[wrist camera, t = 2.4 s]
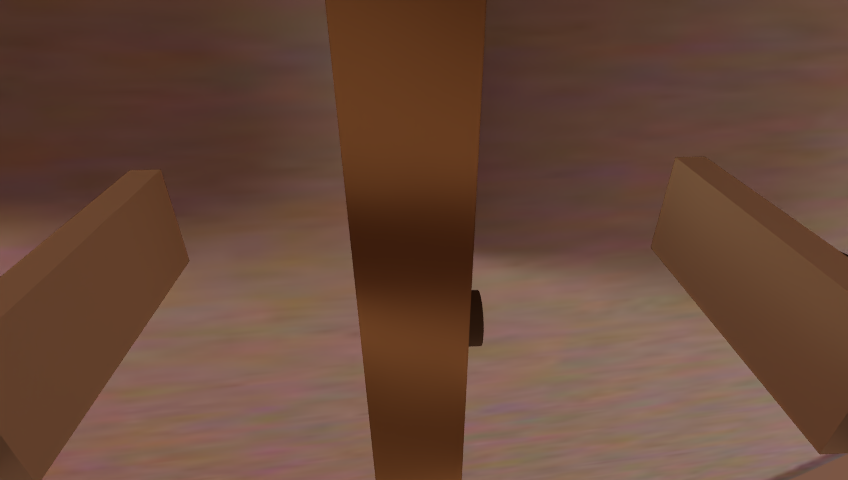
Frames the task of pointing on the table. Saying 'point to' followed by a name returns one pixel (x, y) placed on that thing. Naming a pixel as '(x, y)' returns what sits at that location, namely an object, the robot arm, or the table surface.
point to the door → (412, 216)
